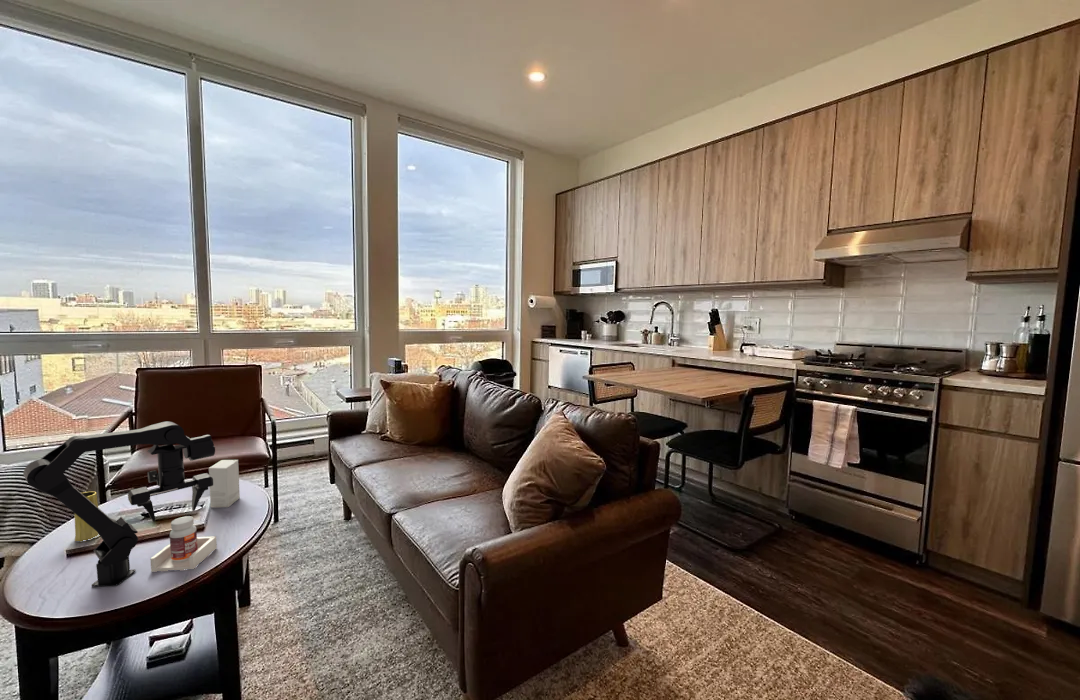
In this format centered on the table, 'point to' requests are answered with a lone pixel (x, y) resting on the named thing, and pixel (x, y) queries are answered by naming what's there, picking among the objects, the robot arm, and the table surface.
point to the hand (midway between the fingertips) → (174, 515)
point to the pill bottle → (183, 538)
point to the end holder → (165, 562)
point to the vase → (82, 527)
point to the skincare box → (224, 483)
